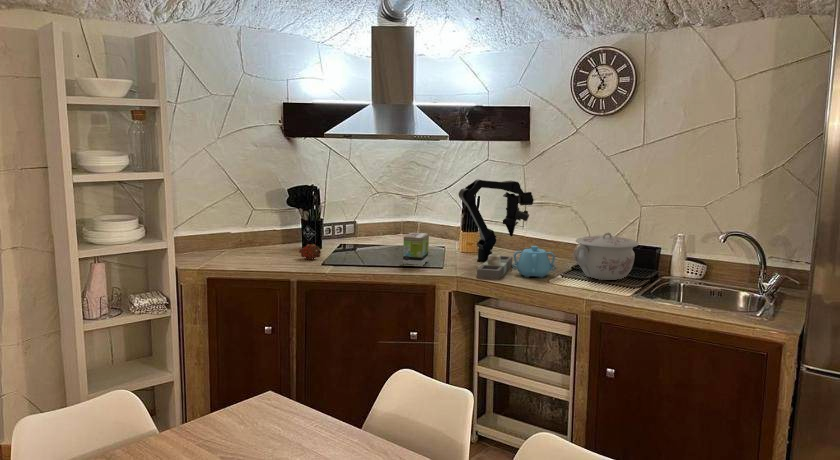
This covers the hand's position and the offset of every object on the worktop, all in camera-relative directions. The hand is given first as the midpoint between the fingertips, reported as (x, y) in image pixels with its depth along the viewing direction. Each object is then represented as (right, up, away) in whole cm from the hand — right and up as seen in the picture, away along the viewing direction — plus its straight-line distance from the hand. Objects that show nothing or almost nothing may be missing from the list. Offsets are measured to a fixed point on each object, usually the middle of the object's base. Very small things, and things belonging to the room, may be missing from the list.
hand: (511, 236), depth 339 cm
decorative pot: (+5, -18, -34) cm, 39 cm away
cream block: (-12, -13, -29) cm, 34 cm away
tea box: (-49, -14, -12) cm, 52 cm away
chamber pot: (+37, -19, -37) cm, 56 cm away
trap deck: (-11, -16, -26) cm, 32 cm away
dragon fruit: (-102, -12, -2) cm, 103 cm away
